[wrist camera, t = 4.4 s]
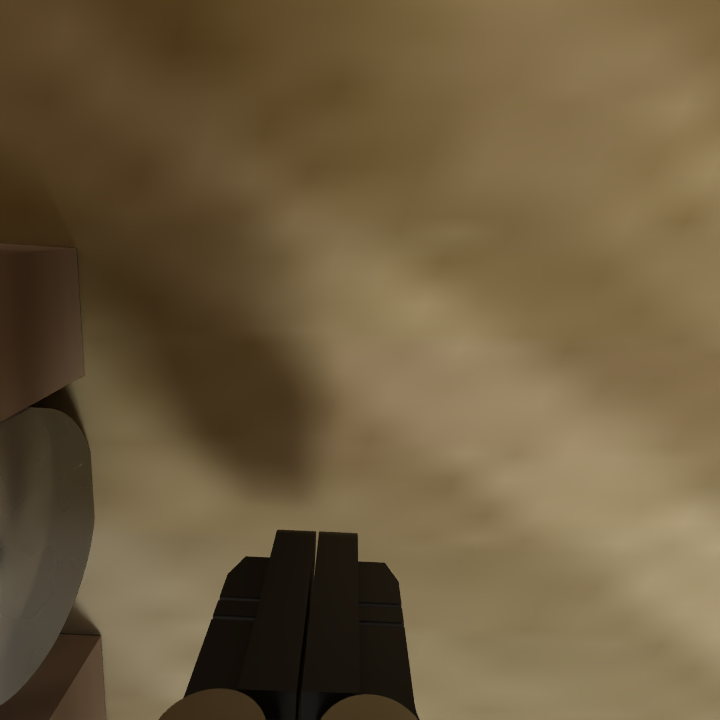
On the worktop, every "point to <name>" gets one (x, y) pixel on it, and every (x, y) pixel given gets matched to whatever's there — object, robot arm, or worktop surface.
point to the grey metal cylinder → (40, 535)
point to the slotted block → (18, 391)
